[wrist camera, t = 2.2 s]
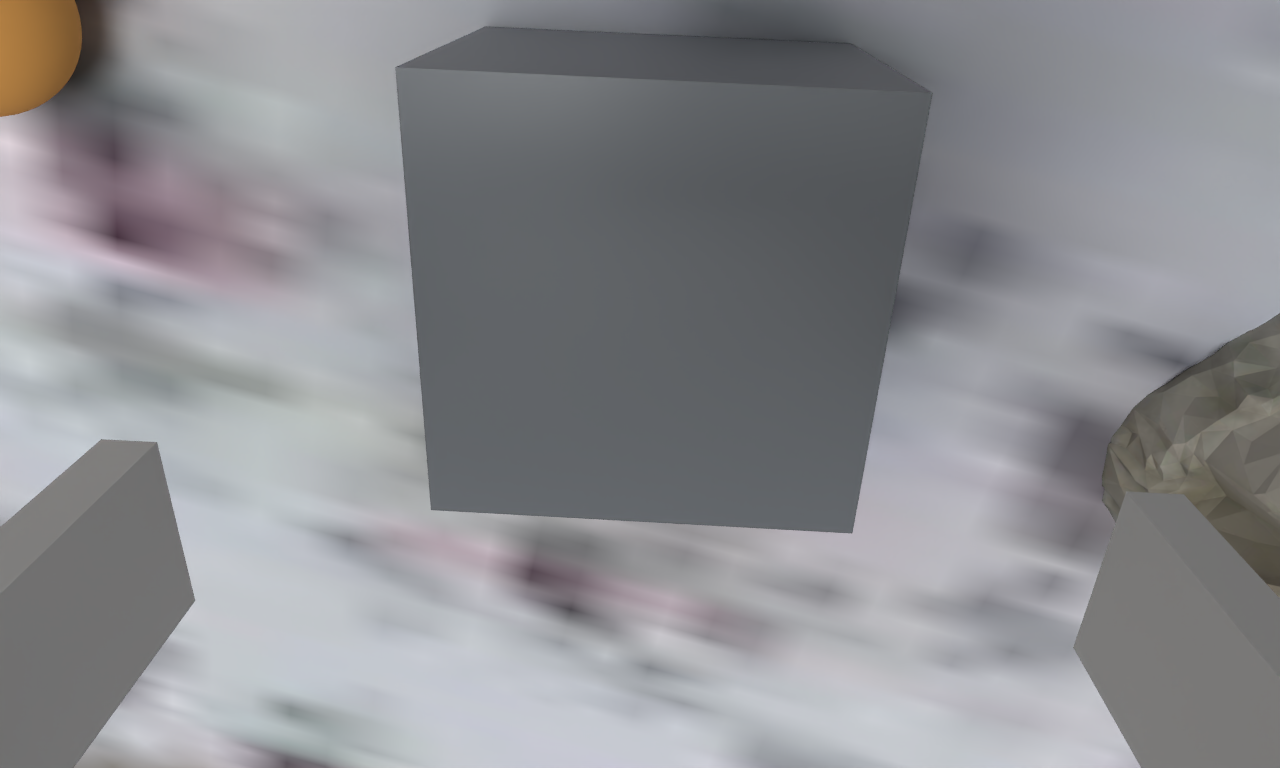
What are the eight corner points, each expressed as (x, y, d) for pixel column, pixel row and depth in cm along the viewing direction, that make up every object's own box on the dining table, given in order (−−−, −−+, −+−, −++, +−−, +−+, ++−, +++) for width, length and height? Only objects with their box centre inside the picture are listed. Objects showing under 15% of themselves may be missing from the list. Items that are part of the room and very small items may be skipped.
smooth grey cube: (485, 26, 25) (395, 67, 17) (850, 43, 25) (932, 92, 17) (497, 356, 29) (431, 510, 21) (805, 373, 29) (852, 533, 21)
